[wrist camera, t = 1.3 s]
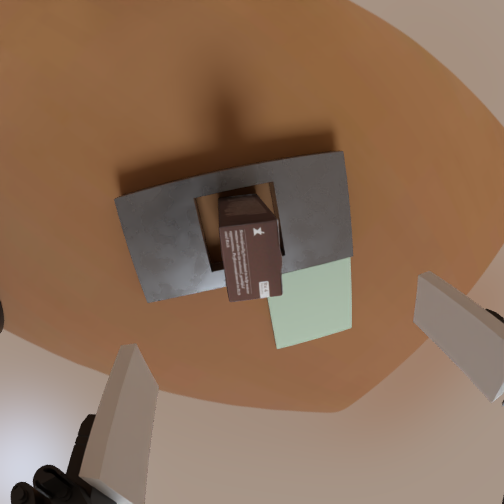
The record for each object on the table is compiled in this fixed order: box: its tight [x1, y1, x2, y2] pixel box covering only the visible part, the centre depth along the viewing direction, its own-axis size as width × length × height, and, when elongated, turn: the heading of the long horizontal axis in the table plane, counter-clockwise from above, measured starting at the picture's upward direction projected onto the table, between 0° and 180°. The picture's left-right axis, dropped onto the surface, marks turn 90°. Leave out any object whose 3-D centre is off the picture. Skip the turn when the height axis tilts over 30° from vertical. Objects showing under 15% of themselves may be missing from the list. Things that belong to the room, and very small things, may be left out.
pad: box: [267, 257, 352, 349], centre depth 36 cm, size 11×11×1 cm
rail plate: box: [114, 151, 353, 303], centre depth 30 cm, size 24×12×2 cm, turn 101°
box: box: [218, 194, 283, 302], centre depth 25 cm, size 6×4×12 cm
